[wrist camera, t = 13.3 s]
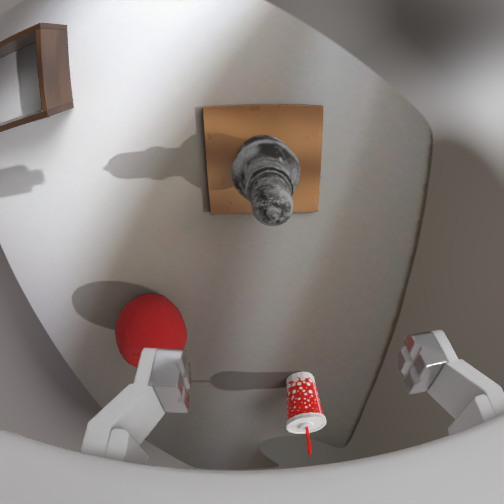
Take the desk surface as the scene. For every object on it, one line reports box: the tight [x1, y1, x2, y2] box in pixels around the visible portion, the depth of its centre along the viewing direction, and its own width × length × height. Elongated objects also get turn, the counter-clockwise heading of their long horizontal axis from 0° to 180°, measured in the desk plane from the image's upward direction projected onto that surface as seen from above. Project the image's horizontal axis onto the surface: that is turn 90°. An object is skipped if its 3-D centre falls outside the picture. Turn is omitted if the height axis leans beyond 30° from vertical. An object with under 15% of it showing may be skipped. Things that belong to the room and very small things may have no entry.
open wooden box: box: [0, 23, 73, 132], centre depth 21 cm, size 9×14×5 cm, turn 91°
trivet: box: [203, 104, 323, 215], centre depth 30 cm, size 11×11×1 cm
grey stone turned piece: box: [232, 135, 300, 226], centre depth 25 cm, size 6×6×12 cm
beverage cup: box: [286, 372, 326, 455], centre depth 44 cm, size 6×6×14 cm
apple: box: [115, 294, 187, 367], centre depth 36 cm, size 9×9×10 cm
